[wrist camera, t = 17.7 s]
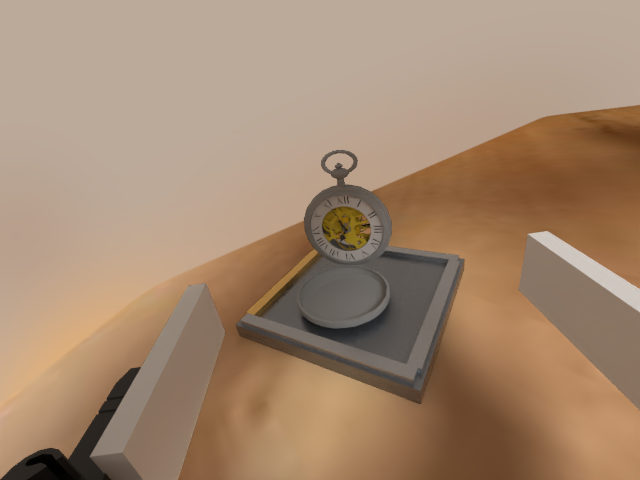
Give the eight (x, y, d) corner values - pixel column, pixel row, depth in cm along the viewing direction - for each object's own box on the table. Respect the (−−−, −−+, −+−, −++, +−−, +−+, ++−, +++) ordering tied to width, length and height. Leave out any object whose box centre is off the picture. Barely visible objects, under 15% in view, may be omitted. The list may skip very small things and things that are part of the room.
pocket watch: (313, 347, 19) (278, 194, 15) (286, 279, 27) (257, 162, 22) (429, 306, 21) (430, 157, 16) (373, 252, 28) (363, 138, 24)
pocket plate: (326, 248, 32) (324, 236, 32) (463, 269, 26) (464, 254, 25) (239, 335, 23) (234, 320, 22) (420, 404, 16) (420, 385, 16)
